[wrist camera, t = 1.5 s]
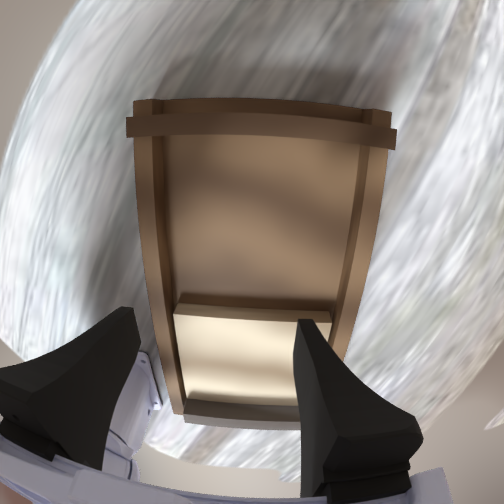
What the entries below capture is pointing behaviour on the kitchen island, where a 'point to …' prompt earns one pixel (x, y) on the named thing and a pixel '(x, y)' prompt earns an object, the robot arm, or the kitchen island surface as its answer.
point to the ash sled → (240, 364)
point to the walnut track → (256, 209)
